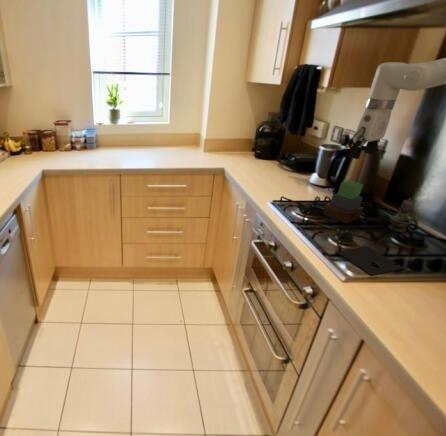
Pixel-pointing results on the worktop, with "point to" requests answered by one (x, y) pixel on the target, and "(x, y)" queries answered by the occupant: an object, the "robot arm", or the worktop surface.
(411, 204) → the salt shaker
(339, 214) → the base block
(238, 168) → the worktop surface
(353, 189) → the green cube
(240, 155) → the worktop surface
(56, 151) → the worktop surface
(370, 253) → the mat
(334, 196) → the middle block
